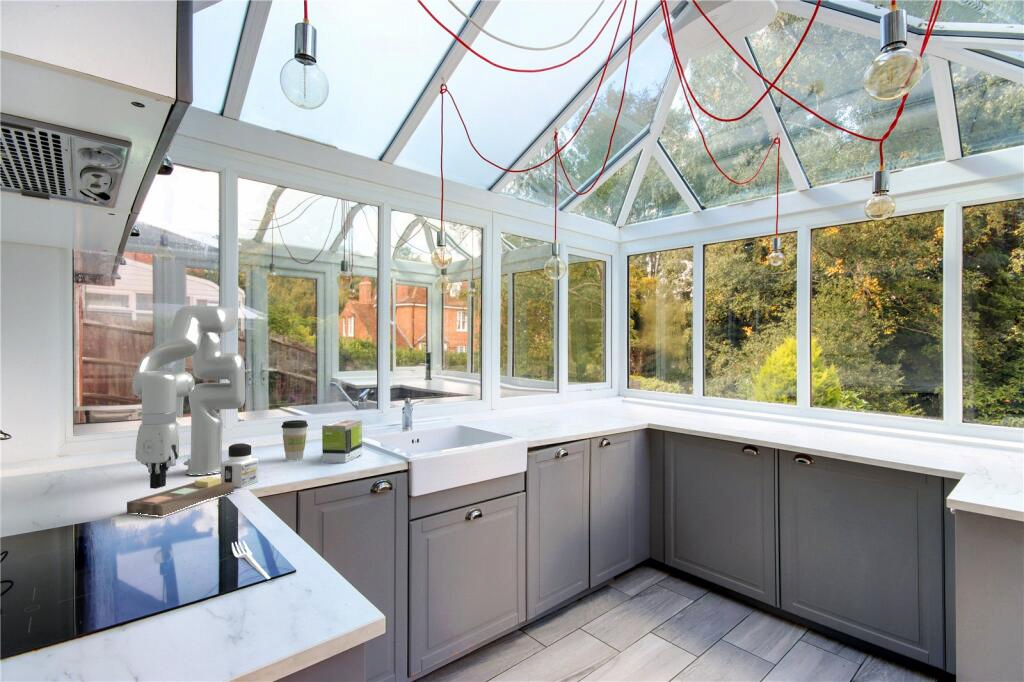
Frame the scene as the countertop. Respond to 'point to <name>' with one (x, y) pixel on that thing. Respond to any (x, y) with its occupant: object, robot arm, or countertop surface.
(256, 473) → the container
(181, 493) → the sage key
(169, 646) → the countertop surface
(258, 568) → the fork
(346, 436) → the tea box
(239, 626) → the countertop surface
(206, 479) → the ochre key
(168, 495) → the key panel
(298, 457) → the coffee cup
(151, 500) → the terracotta key
